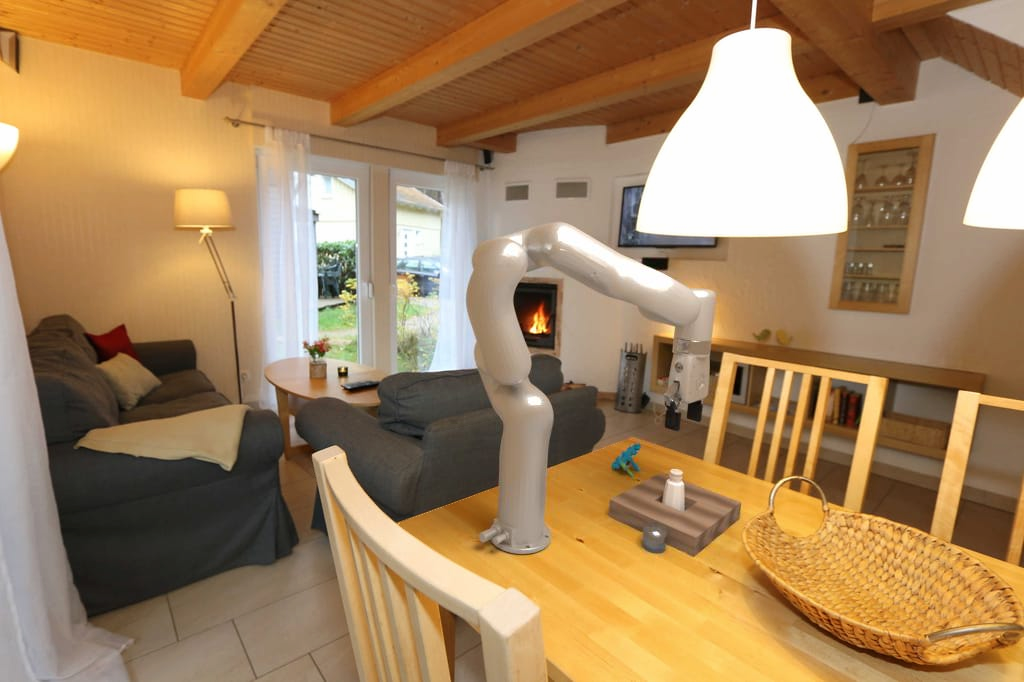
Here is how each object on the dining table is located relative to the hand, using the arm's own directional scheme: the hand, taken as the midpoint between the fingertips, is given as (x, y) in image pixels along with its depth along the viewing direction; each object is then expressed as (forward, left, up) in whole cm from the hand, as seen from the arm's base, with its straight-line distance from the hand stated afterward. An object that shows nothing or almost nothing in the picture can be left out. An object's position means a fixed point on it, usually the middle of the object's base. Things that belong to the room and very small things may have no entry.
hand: (683, 424), depth 108 cm
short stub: (-14, -3, -22) cm, 26 cm away
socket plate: (0, 0, -22) cm, 22 cm away
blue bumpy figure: (+14, +22, -22) cm, 34 cm away
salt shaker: (0, 0, -22) cm, 22 cm away
